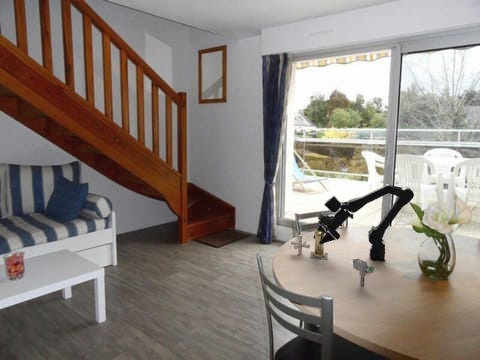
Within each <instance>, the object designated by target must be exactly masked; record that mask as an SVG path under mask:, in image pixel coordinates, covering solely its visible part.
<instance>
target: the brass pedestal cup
mask: <svg viewBox="0 0 480 360" xmlns="http://www.w3.org/2000/svg"><path fill="white" fill-rule="evenodd" d="M325 234H326V233H325V232H323V231H317V230H315V231H314V235H315V239H314V251H312V252H313V256H315V257H325V253H326V252H324V248H325V243H324V244H321V245H320V244H319V242H320V241H321V239H322V238H323V237H324V236H325Z"/></svg>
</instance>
